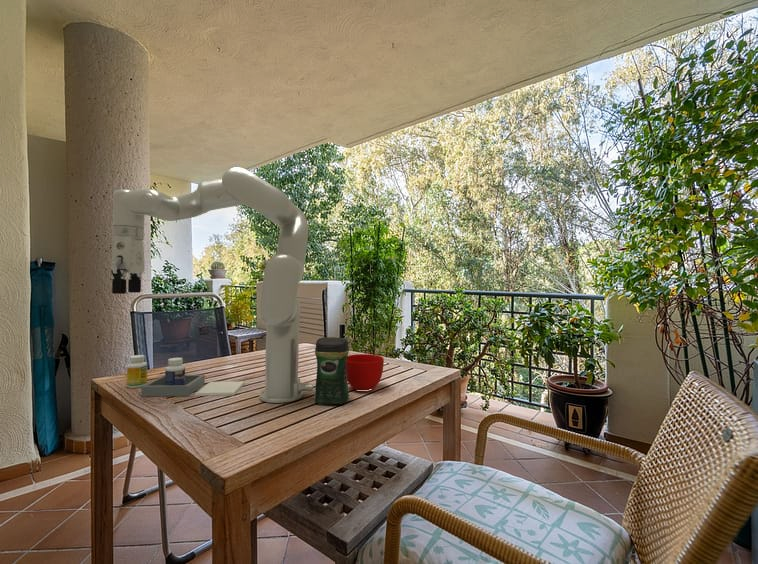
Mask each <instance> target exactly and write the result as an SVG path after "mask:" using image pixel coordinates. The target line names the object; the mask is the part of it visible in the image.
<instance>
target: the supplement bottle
mask: <svg viewBox="0 0 758 564" xmlns="http://www.w3.org/2000/svg"><path fill="white" fill-rule="evenodd" d="M145 357H146V356H145V354H136V355H131V356H129V362H128V364H127V366H126V387H127V388H129V389H137V388H138V389H139V388H141V387H142V386H144V385H146V384H148V382H147V380H148V379H147V378H148V377H147V375H148V363H147V362H146V361H145V359H146V358H145Z"/></svg>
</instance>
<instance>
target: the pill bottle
mask: <svg viewBox="0 0 758 564" xmlns="http://www.w3.org/2000/svg"><path fill="white" fill-rule="evenodd" d="M183 362H184V361H183V357H172V358H168V360H167V364H168V366H166V367H165V371H164V372H165V373H164V375H165V385H185V375H186V366H185V365H184V364H183Z"/></svg>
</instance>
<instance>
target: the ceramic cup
mask: <svg viewBox="0 0 758 564" xmlns="http://www.w3.org/2000/svg"><path fill="white" fill-rule="evenodd" d="M384 361H385V358H384V357H382V356H381V355H377V354H369V353H367V354H366V353H364V354H363V353H362V354H361V353H358V354H350V355H349V354H348V356H347V360H346V371H347V382H348V384H349V385H350V387H352V389H353V388H354V389H356V390H369V389H373V388H374V389H375V388H376V387H377V385H378V384H379V383H380V381H381V379H382V376H383V372H384V363H385V362H384ZM354 389H353V390H354ZM374 389H373V390H374Z"/></svg>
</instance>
